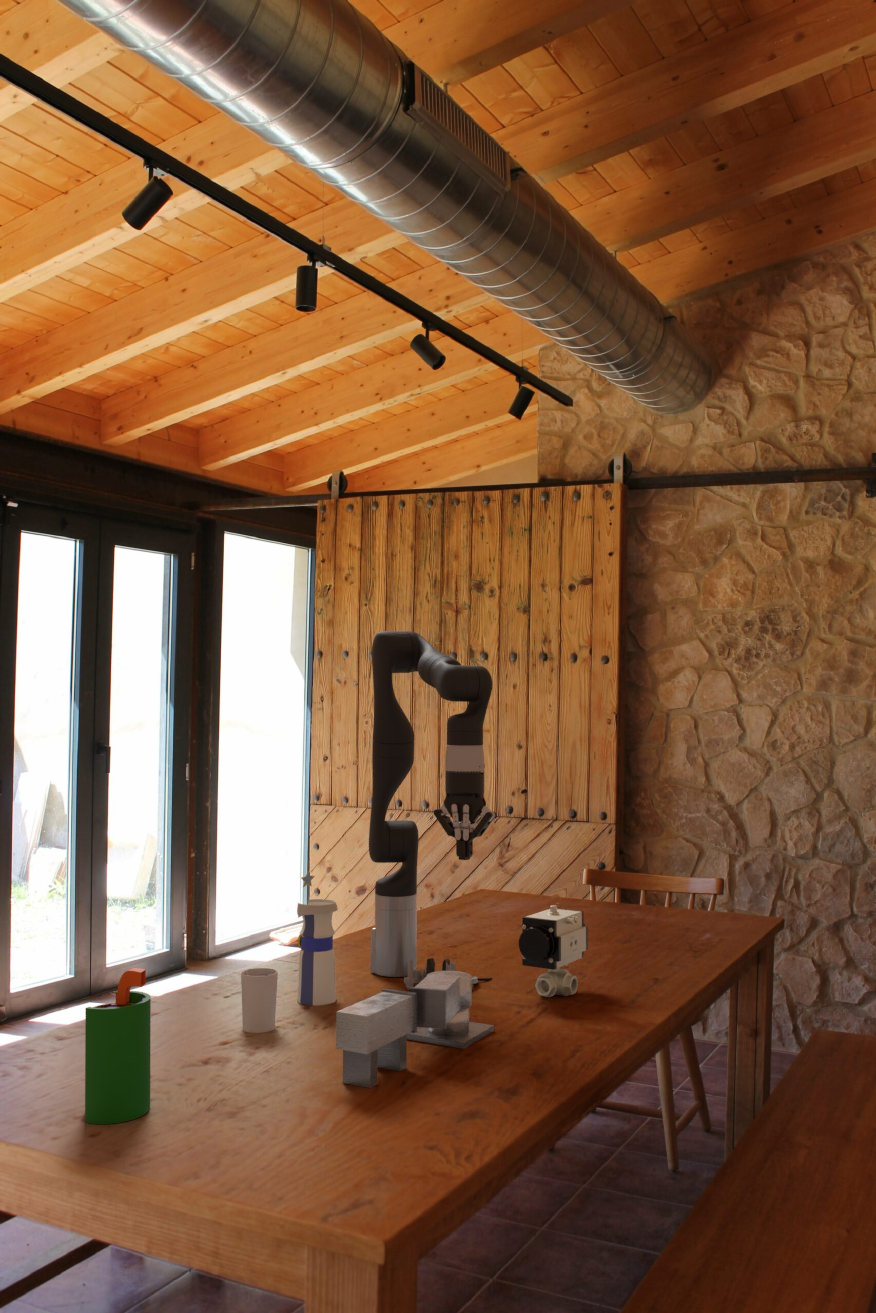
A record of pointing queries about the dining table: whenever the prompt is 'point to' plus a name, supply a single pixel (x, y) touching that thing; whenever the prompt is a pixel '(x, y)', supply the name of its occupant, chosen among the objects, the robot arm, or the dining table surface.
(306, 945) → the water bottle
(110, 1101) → the green container with spout
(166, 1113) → the dining table surface
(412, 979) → the bike brake
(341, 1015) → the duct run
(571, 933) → the ball valve
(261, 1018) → the white cup
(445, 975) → the elbow
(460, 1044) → the duct stub
